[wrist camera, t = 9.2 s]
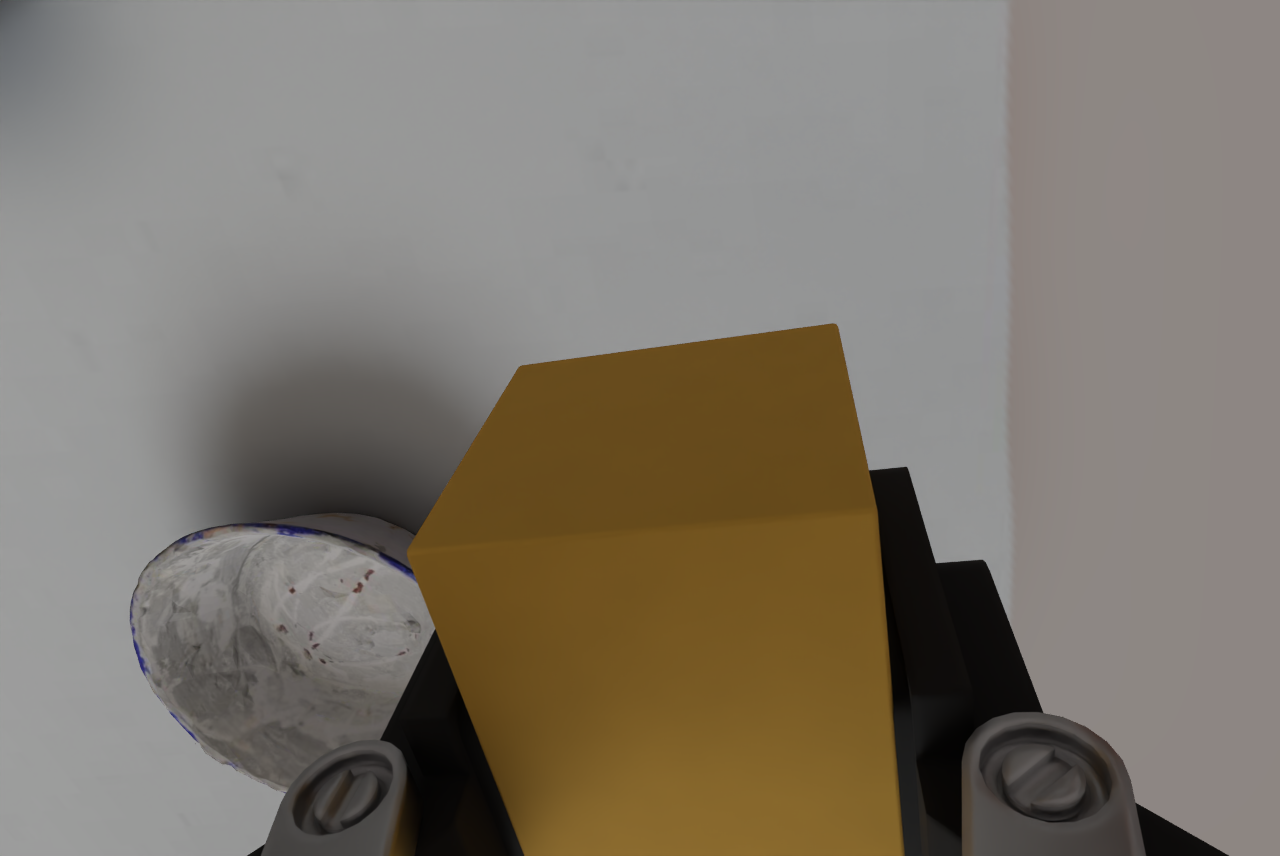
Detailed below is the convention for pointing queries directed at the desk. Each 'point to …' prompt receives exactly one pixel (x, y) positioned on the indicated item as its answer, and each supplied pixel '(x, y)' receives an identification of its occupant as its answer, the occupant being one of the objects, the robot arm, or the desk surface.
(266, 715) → the bowl
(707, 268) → the desk surface
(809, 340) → the sponge
